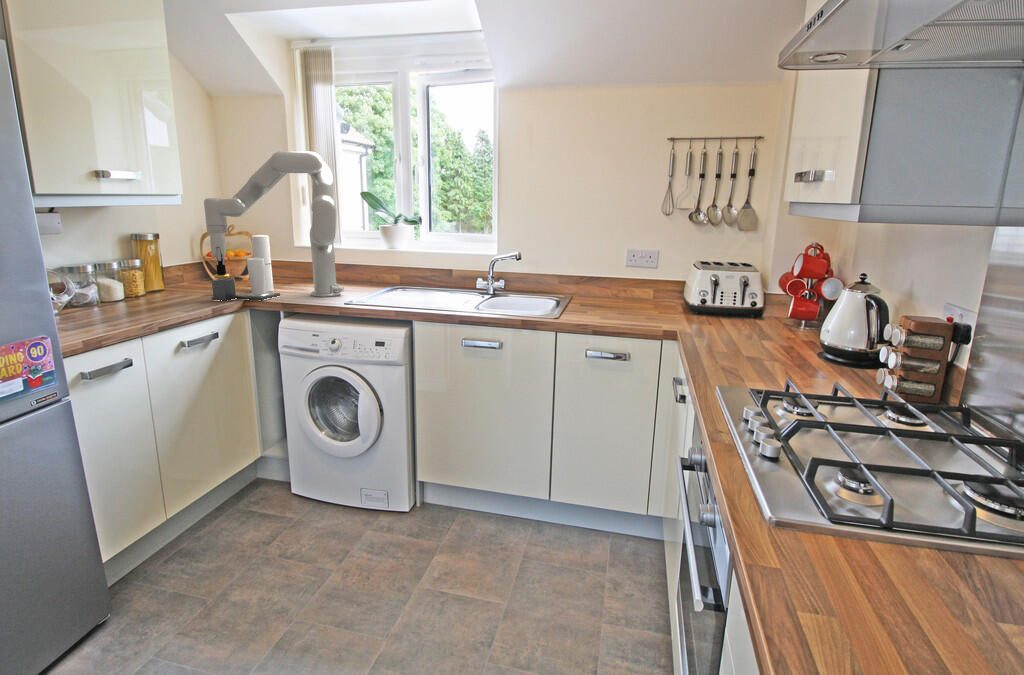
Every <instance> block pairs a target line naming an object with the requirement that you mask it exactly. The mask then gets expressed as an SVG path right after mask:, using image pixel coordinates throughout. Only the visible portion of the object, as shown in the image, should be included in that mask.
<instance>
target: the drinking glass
mask: <svg viewBox="0 0 1024 675" xmlns="http://www.w3.org/2000/svg"><path fill="white" fill-rule="evenodd" d="M246 264H247V272H248V278H249V282H250V288H251V293H252V294H253V295H263V294H265V293H266V291H265V261H264V258H253V257H251V258H247V259H246Z"/></svg>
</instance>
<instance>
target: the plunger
mask: <svg viewBox="0 0 1024 675" xmlns="http://www.w3.org/2000/svg"><path fill="white" fill-rule="evenodd" d="M213 277H214V279H219V280H227V279H231V273H226V275H217V273H216V274H213Z"/></svg>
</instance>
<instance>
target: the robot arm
mask: <svg viewBox="0 0 1024 675" xmlns="http://www.w3.org/2000/svg"><path fill="white" fill-rule="evenodd" d="M287 174H308V175H309V176H310V177H311V182H312V196H311V197H312V199H311V206H310V208H311V212H312V215H311V216H312V217H311V219H312V220H311V227H310V228H309V239H310V249H311V250H310V251H311V261H312V263H311V265H312V276H313V278H312V279H313V280H312V281H313V290H314V291H311V292H310V296H312V297H321V298H322V297H335V296H340V295H341V293H343V292H344V290H345V287H343V286H340V284H339V283H337V273H336V271H337V270H336V255H335V246H334V241H335V238H336V234H337V233H336V232H337V230H336V228H337V207H336V204H335V202H334V177H333V176H334V175H333V173H332V171H331V169H330V167H329V166H328V165H327V163H326V162H324V160H323V159H322V156H320V155H319V154H318V153H316V152H315V151H289V150H288V151H287V150H286V151H285V150H280V151H279V150H278V151H275V152H274V153H273V154H272V155H271V156H270V158H269V159H267V161H265V162H264V163H263V164H262V165H261V166H260V167H259V168H258V169H257V170H256V171H255V172H254V173H253V174H251V176H249V178H248V180H247V181H246V183H245V184H244V185H243V186H242V188H240V189H239V190H238V191H237V192H236V194H234V195H233V196H232V197H231V198H219V197H218V198H217V197H216V198H215V197H214V198H213V197H212V198H211V197H207V198H205V199H204V201H203V205H204V217H205V227H206V233H207V234H209V238H210V239H209V240H210V241H209V242H210V250H211V251H210V252H211V258H212V259H215V261H216V265H215V266H216V267H215V268H216V274H217V275H226V274H227V270H226V263H225V258H226V255H227V253H226V252H227V249H226V248H227V246H226V234H229V232H228V222H227V220H228V219H227V217H231V218H232V217H233V218H239V217H242V216H243V215H245V213H247V211H248V210H249V209H250V208H251V207H253V206H254V204H256V203H257V201H259V200H260V199H261V198H262V197H264V196H265V195H267V194H268V193H269V192H270V191H271V190H272V189H273V188H274V187H275V186H276V185H277V184H278V183H279V182H280V181H281V180H282V179H283V178H284V177H285V176H286V175H287Z"/></svg>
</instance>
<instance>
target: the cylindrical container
mask: <svg viewBox="0 0 1024 675" xmlns="http://www.w3.org/2000/svg"><path fill="white" fill-rule="evenodd" d="M250 238H251V246H252V256H253V257H252V258H264V261H265V291H266V292H268V291H273V290H274V280H273V278H274V277H273V268H272V258H271V248H270V246H271V245H270V236H269V235H265V234H260V235H259V234H258V235H251V236H250ZM274 291H275V290H274ZM274 291H273V292H274Z"/></svg>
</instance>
